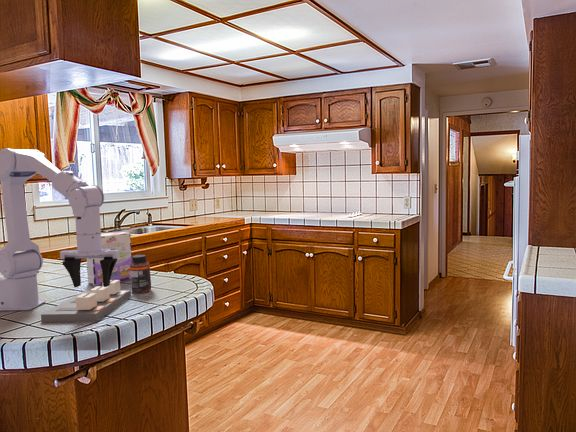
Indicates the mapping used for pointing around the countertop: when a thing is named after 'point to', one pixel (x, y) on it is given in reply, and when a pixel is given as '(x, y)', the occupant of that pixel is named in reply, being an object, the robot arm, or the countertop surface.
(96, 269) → the candy box
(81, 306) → the slotted white cube
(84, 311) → the panel
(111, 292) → the knob
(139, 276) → the supplement bottle
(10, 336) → the countertop surface
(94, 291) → the knob
